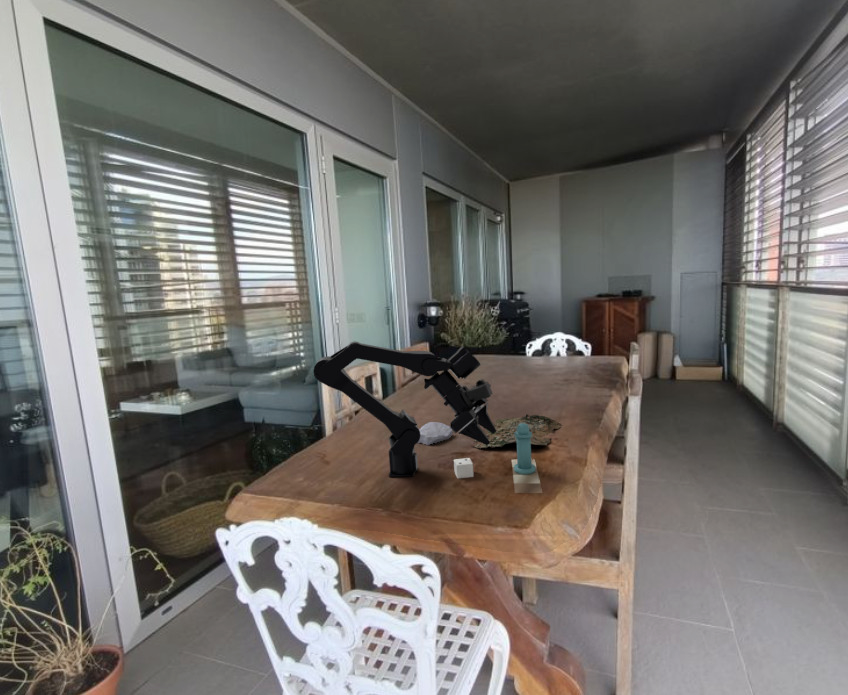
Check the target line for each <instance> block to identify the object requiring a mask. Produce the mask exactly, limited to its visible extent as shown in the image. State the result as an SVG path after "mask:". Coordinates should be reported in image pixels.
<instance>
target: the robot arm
mask: <svg viewBox="0 0 848 695" xmlns="http://www.w3.org/2000/svg"><path fill="white" fill-rule="evenodd" d="M355 360H362V361H367V362H374V363H380V364H385V365H390V366H396V367H400V368H403V369H406V370H409V371H411V372H414V373H415V374H419V375H421V376H424V377H428V378H423V381H424V387H423V388H424V390H428V389H429V388H430V387H432V388H433V390H435V392H436V393H438V395H439V396H440V397H441V398H442V399H443V401H444V403H443V405H444V406H445V407H447V406H449V408H450V409H451V410H452V412H454V413H455V414H454V415H453V417H454V418H453V419H452V420H451V422H450V424H449V426H450V428H451V429H452V430H453V433H455V434H457V433H458V434H459V435H463V436H465V437H468V438H470V439H472V440H473V441H475V440H477V441H479V442H481V443H483V444H485V445H488V444H489V443H490V441H489V439H488V438H487V436H486V433H485V431H484V430H488V431H490V432H491V433H493V434H494V433H495V432H496V429H495V426H494V423H493V421H492V419H491V417H490V415H489V412H488V406H489V403H488V401H489V400H488V398H490V397H491V396H492V395H494V394H493V391H492V388H491V386H492V385H491V384H490V383H489V381H485V380H484V379H483V378H481V379H479V380H477V381H476V382H475V383H476V385H475V386H473V387H471V388H468V387H467V386H466V385H461V384H460V383H459V382H458V380H460V379H462V380H466V379H467V378H468V377H469V376H470V375H471V374H472V373H474V372H475V371H476V370H477V369H479V367H480V366H481V363H480V362H479V360H478V359H477V357H476V356H474V355H473V354H472V353H470V351H469V350H467V348H466V347H465V346H460V347H459V349H457V351H456V352H454V354H453V355H451V356H450V357H448V359H447V358H444V357H440V356H439V357H438V356H436V355H435V353H433V352H431V351H429V350H404V351H403V350H397V349H393V348H387V347H382V346H378V345H376V346H375V345H371V344H367V343H361V342H359V341H356V340H355V341H354V340H353V341H351V342H350V343H349V344H348V345H346V346H344V347H343V348H341V349H340V350H338V351H336V352H334V353H333V354H331V355H329V356H327V355H326V356H322V357H320V358H319V359H318V360H317V362H316V363H315V365H314V367H313V377H314V378H315V380H316V381H318V382H319V383H322V384H324V385H325V386H327V387H329V388H331V389H334V390H337V391H339V392H341V393H343V394H344V395H346V396H347V397H348V398H350V399H351V400H352V401H353V402H354V403H356V405H359V406H360V407H361V408H362V409H364V410H365V411H367V412H368V413H369V414H371V415H372V416H373V417H374V418H375V419H377V420H379V422H381V423H382V424H383V425H385V427H386V428H387V429H388V431H389V432H390V433H391V435H390V436H389V437H388V442H389V446H390V448H389V449H388V461H389V462H388V464H389V473H388V477H391V478H393V477H399V478H400V477H408V478H409V477H414V476H415V474H416V472H417V471H418V468H419V464H418V463H419V462H418V453H417V452H416V451H415V446H416V445H417V444H419V443H418V441H419V440H420V431H419V429H420V428H419V427H418V423H417V421H416V419H415V417H414V416H412V415H409V414H408V413H407V412H406V411H405V410H404V409H402V408H401V411H400V412H398V411H394V410H393V409H391V408H390V407H389V406H387V405H386V404H385V403H383V401H381V400H380V399H379V398H377V397H376V396H374V395H373V393H371V392H369V390H367V389H366V388H364V386H362V385H360V384H359V383H358V382H356V381H355V380H354V379H353V378H351V376H350V375H349V374H348V373H347V371H346V370H345V368H346V367H348V366H349V365H350V364H352V363H353V362H354V361H355ZM449 371H451V372H449ZM439 372H441V373H439ZM452 374H453V375H454V376H455V377H456V378H457V379H458V380H457V379H456V378H455V377H454V376H453V375H452ZM482 428H484V430H483V429H482ZM488 431H487V432H488ZM493 434H492V435H493Z"/></svg>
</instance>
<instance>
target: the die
mask: <svg viewBox="0 0 848 695" xmlns="http://www.w3.org/2000/svg"><path fill="white" fill-rule="evenodd" d="M453 468H454V474H455V476H456V478H457V479H466V478H474V464H473V461H472V460H471V458H470V457H465V458H457V459H456V458H454V459H453Z"/></svg>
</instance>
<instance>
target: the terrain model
mask: <svg viewBox="0 0 848 695" xmlns="http://www.w3.org/2000/svg"><path fill="white" fill-rule="evenodd" d="M521 423H525V424H527V425H528V426H529V431H530V432H532V437H530V439H531V445H539V446H542V447H544V446H548V444H550V443H551V440H550V439H551V438H550V436H551V435H550V434H555V431H554V429H557V430H558V429H560V428H561V426H562V423H559V422H558V421H556V420H554V419H552V418H550V417H547V416H545V415H544V416H543V415H539V414H535V415H533V414H530V415H529V414H526V415H525V416H521V417H511V418H504V419H501V418H498V419H496V420H495V422H494V423H493V425H494V427H495V429H496V432H495V433H494V434H493V433H491V432H490V431H488V430H486V429H484V432H487V433H485V435H486V436H487V438H488V439H489V441H490V443H489V444H488V445H485V444H483V446H481V444H475V445H474V447H475V448H477V449H480V450H481V448H482V449H487V448H488V447H490V448H491V449H492V448H497V447H500V448H502V447H503V446H504V445H506V444H514V443H515V444H517V441H516V437H515V434H514V433H515V432H517V426H518V425H519V424H521ZM546 436H548V437H546ZM478 442H479V441H477V440H473V443H478ZM479 443H481V442H479Z"/></svg>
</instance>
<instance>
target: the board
mask: <svg viewBox="0 0 848 695" xmlns="http://www.w3.org/2000/svg"><path fill="white" fill-rule="evenodd" d="M531 463H532V464H533V465H535V470H536V471H535V473H533V474H530V475H521V474H517V473H515V472H514V465H516V464H517V458H516V459H511V467H512V468H511V469H512V478H513V486H514V488H513V489H514V494H543V489H542V486H541V485H542V484H541V481H540V475H539V472H538V471H539V470H538V467H537V463H536V460H535V458H533V459H532V458H531Z"/></svg>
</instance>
